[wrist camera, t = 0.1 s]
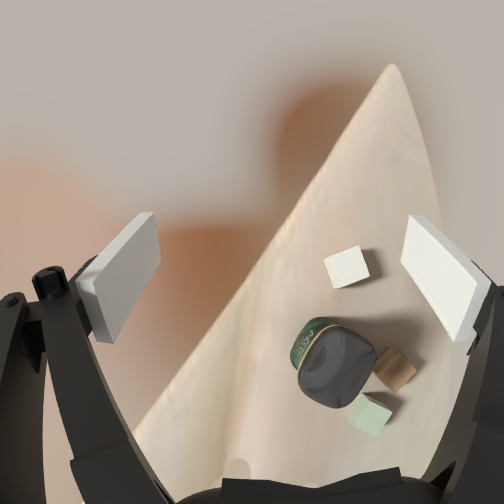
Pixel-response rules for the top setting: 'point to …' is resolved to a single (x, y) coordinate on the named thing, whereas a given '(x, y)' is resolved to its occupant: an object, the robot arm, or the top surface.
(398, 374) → the walnut block
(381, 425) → the sage block
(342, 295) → the top surface
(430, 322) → the top surface
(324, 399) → the coffee jar
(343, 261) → the off-white block
